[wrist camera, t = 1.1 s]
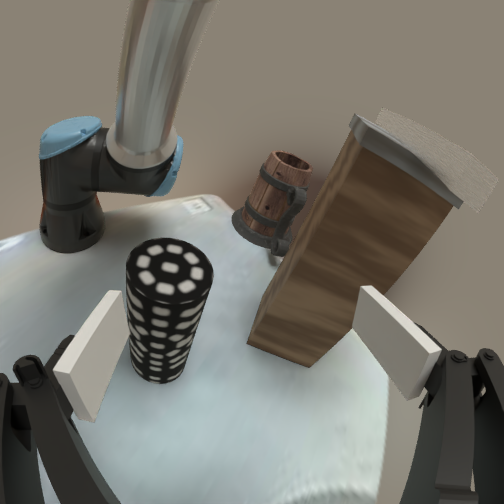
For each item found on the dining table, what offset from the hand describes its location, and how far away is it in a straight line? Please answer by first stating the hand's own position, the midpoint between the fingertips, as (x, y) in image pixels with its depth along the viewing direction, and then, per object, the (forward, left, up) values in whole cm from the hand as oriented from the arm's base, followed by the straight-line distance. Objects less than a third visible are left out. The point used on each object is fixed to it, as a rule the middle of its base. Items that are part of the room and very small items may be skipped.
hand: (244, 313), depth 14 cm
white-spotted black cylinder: (-10, -3, -28) cm, 29 cm away
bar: (-14, +20, +10) cm, 27 cm away
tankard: (-42, +24, -28) cm, 56 cm away
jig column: (-14, +20, -27) cm, 37 cm away
